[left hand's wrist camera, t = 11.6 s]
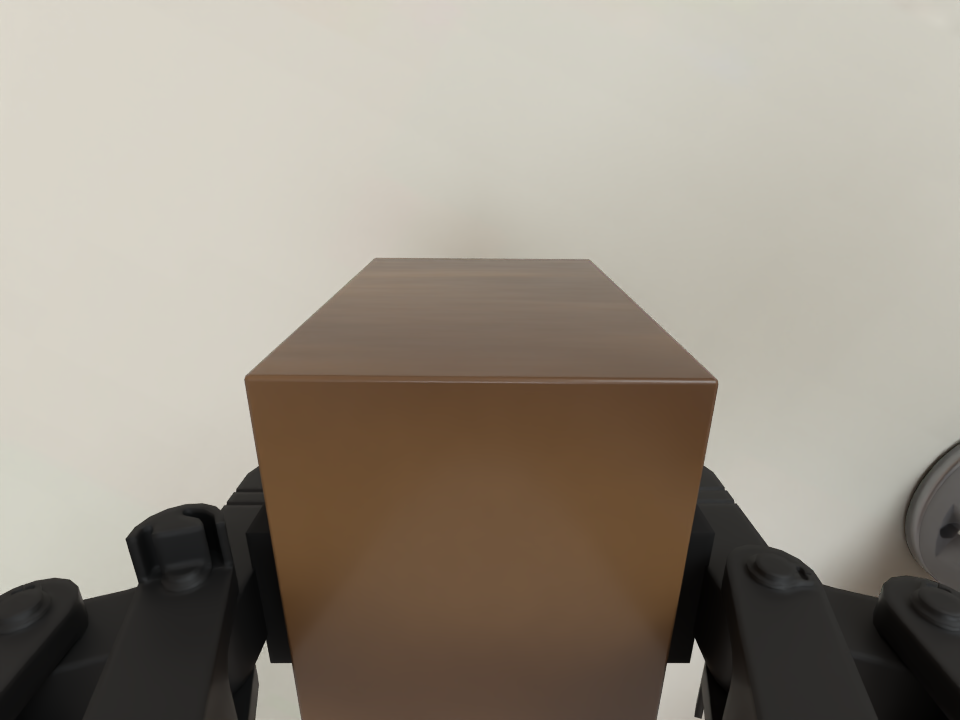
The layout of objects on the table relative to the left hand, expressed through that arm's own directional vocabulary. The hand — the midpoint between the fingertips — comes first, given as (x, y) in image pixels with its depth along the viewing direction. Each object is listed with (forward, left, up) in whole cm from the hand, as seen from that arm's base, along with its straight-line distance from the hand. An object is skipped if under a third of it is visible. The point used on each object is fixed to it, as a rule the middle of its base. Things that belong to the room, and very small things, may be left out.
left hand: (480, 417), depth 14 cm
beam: (-16, +18, -1) cm, 24 cm away
